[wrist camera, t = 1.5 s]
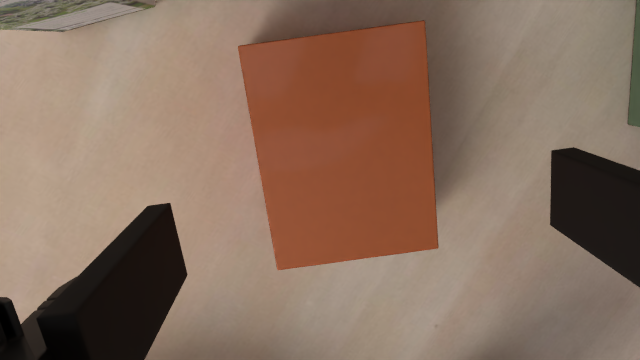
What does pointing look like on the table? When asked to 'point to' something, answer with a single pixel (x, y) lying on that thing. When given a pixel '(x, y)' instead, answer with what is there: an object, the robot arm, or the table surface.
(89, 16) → the syrup box
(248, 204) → the table surface
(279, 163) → the terracotta rectangular block
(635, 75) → the box stack
